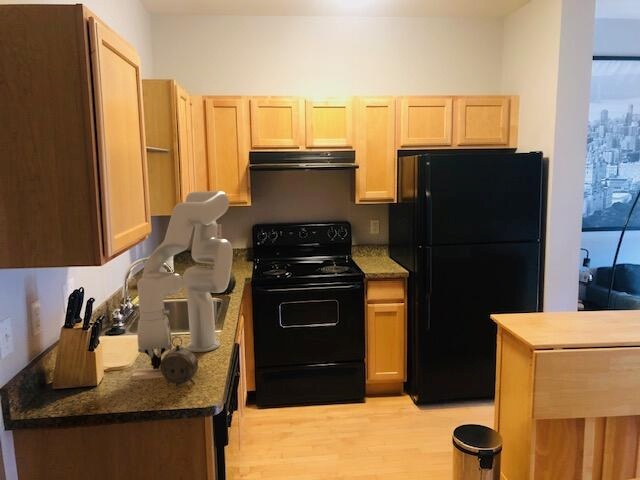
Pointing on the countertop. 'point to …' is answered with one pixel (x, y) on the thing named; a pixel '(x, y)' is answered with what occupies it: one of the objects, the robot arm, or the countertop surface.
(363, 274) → the countertop surface
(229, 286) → the squash
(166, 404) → the countertop surface
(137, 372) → the track
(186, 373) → the alarm clock
